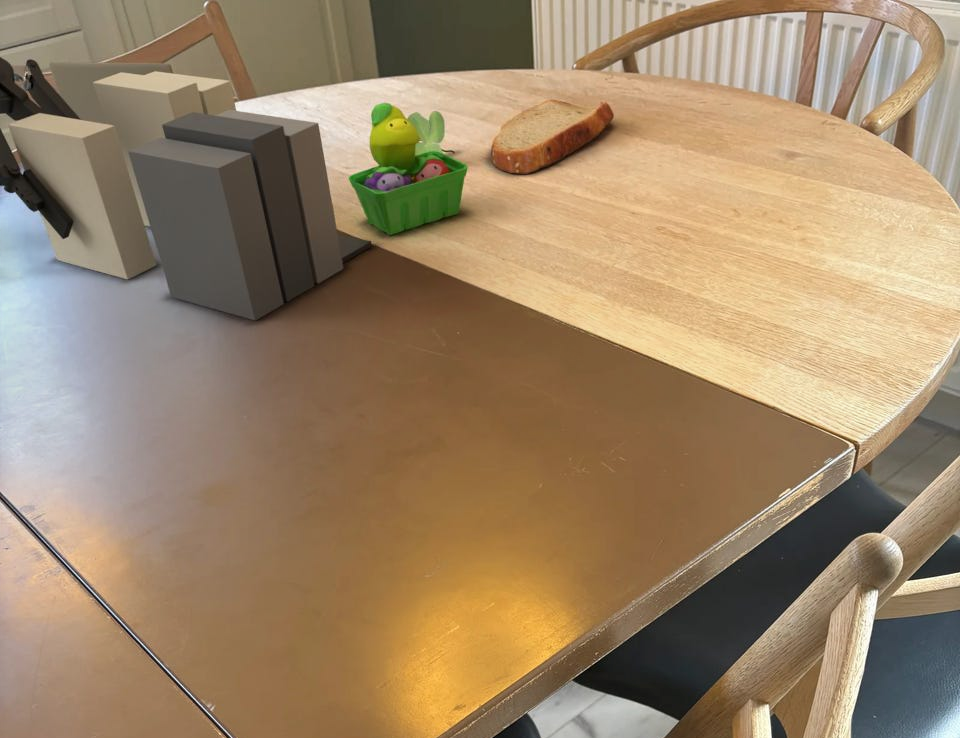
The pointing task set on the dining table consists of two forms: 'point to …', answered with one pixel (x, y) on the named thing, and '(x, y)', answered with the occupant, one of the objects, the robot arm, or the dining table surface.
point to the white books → (156, 107)
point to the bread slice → (546, 135)
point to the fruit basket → (406, 177)
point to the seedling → (429, 132)
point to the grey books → (241, 210)
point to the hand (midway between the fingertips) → (91, 219)
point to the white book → (87, 192)
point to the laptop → (79, 79)
